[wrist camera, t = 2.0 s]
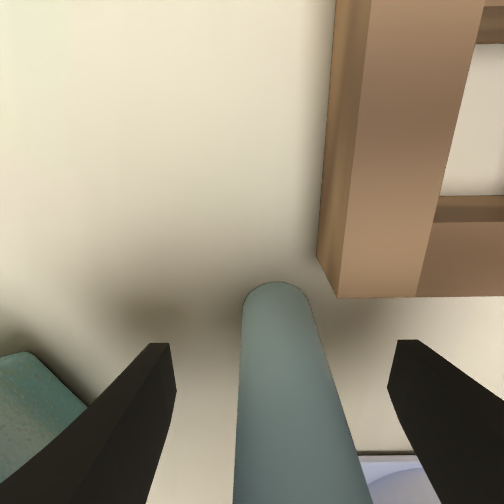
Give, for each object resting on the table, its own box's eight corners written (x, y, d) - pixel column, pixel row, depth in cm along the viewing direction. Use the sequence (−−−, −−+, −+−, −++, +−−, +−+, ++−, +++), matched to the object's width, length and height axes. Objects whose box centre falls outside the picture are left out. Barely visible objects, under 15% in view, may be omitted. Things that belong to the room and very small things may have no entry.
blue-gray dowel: (307, 337, 13) (382, 623, 5) (243, 338, 13) (231, 623, 5) (311, 281, 12) (412, 543, 4) (241, 282, 12) (223, 544, 4)
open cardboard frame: (551, 253, 11) (649, 294, 8) (316, 256, 11) (337, 298, 9) (684, -63, 8) (925, -168, 5) (340, -56, 8) (389, -158, 5)
